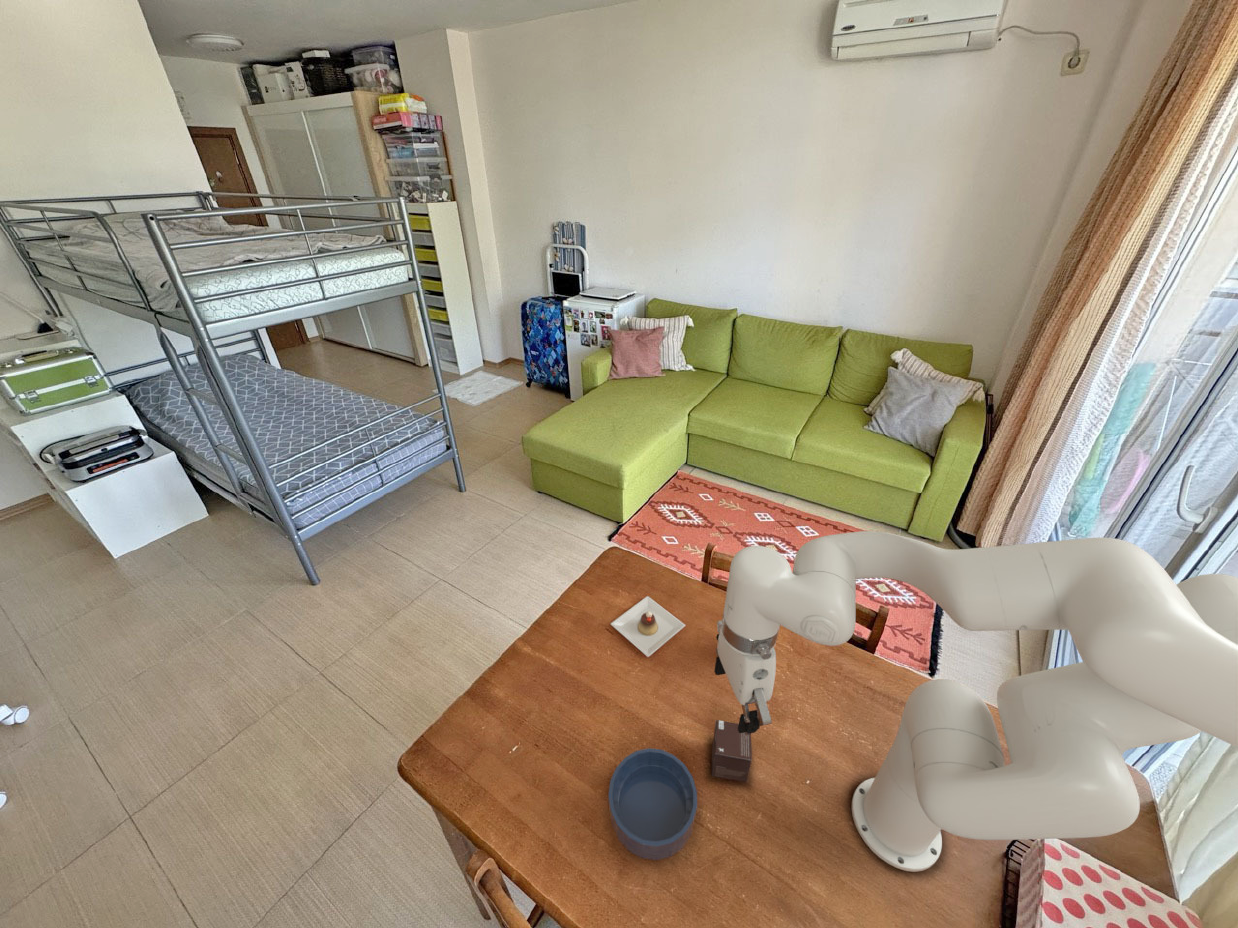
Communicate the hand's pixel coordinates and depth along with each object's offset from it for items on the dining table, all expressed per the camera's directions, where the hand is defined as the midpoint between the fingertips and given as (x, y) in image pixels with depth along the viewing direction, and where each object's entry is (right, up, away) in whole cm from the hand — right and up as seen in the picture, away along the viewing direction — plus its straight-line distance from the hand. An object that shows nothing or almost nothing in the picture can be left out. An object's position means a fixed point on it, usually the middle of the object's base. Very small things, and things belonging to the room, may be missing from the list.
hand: (735, 699), depth 77 cm
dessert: (-12, 0, +34) cm, 36 cm away
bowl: (-13, -20, +3) cm, 24 cm away
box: (+1, -16, +9) cm, 18 cm away
